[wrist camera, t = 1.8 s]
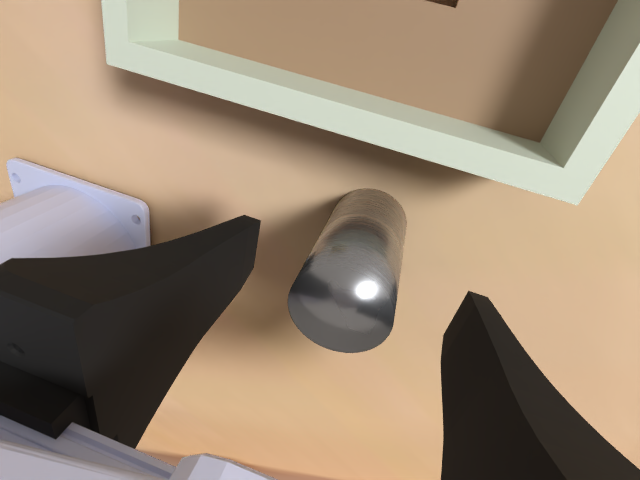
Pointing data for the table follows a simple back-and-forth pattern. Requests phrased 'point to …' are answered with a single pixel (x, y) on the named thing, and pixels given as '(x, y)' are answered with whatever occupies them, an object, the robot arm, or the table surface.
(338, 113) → the box
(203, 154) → the table surface
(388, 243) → the peg
